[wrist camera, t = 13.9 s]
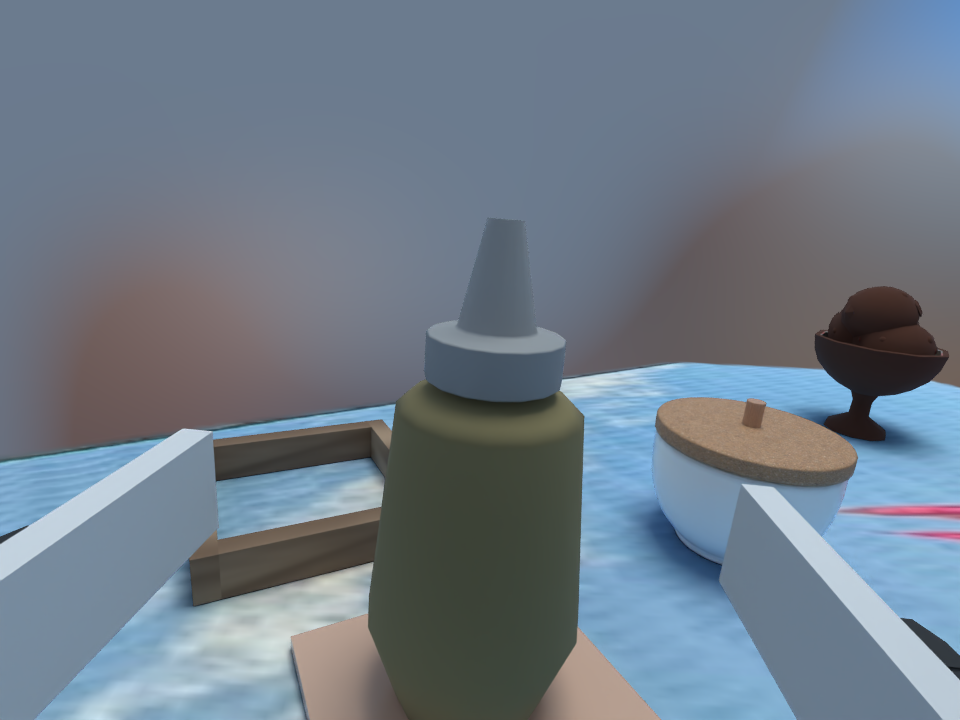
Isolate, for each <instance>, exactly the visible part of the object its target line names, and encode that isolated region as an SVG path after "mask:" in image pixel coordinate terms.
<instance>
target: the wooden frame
mask: <svg viewBox="0 0 960 720" xmlns="http://www.w3.org/2000/svg"><path fill="white" fill-rule="evenodd" d="M391 435H392V431H391V430H390V428H389V427H388V426H387V425H386V424H385V423H384V421H383V420H374V421H365V422H357V423H349V424H340V425H332V426H324V427H315V428H307V429H299V430H291V431H282V432H274V433H266V434H257V435H249V436H241V437H232V438H224V439H216V440H213V447H214V462H215V478H216V481H217V480H224V479H230V478H237V477H243V476H250V475H256V474H263V473H269V472H276V471H282V470H289V469H295V468H302V467H308V466H315V465H321V464H328V463H334V462H341V461H347V460H354V459H360V458H367V457H371V458H372V459H373V461H374V462H375V463H376V465H377V466H378V468H379V469H380V471H381V472H382V474H383V475H384V477H385V478H386V471H387V464H388V457H389V449H390V442H391ZM380 514H381V507H379V508H374V509H369V510H364V511H359V512H354V513H349V514H344V515H339V516H334V517H329V518H324V519H319V520H314V521H309V522H304V523H299V524H294V525H290V526H285V527H280V528H275V529H270V530H265V531H260V532H255V533H250V534H245V535H240V536H235V537H230V538H225V539H220V540H217V530H216V531H215V532H214V533H213V534H212V535H211V536H210V537H209V538H208V539H207V540H206V541H205V542H204V543H203V544H202V545H201V546H200V547H199V548H198V549H197V550H196V551H195V553H194V554H193V555H192V556H191V557H190V558H189V562H190V573H191V585H192V596H193V606H196V605H200V604H204V603H208V602H212V601H216V600H220V599H224V598H228V597H232V596H236V595H240V594H244V593H248V592H252V591H256V590H260V589H264V588H268V587H272V586H276V585H280V584H284V583H288V582H292V581H296V580H300V579H304V578H308V577H312V576H316V575H320V574H324V573H328V572H332V571H336V570H340V569H344V568H348V567H352V566H356V565H360V564H364V563H368V562H372V561H374V557H375V550H376V543H377V536H378V528H379V521H380Z"/></svg>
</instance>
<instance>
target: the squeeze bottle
mask: <svg viewBox="0 0 960 720" xmlns="http://www.w3.org/2000/svg"><path fill="white" fill-rule="evenodd" d="M565 350H566V341H565V339H564V338H562V337H561V336H560V335H558V334H557V333H555V332H552V331H549V330H546V329H543V328H539V327H537V326H536V318H535V308H534V299H533V289H532V280H531V272H530V262H529V254H528V245H527V236H526V226H525V221H521V220H508V219H495V218H487V222H486V225H485V229H484V232H483V236H482V239H481V243H480V246H479V250H478V253H477V257H476V260H475V264H474V268H473V271H472V275H471V278H470V281H469V285H468V289H467V292H466V295H465V299H464V302H463V306H462V309H461V313H460V317H459V320H458V321H448V322H443V323H438V324H435V325H434V326H432V327H431V328H429V329H428V330H427V331H426V346H425V368H424V372H425V377H426V380H423V381H420V382H419V383H418V384H417V385H415V386H414V387H412V388H411V389H410V390H409V391H407V392H406V393H405V394H404V395H403V396H402V397H401V398H399V399H398V400H397V401H396V406H395V413H394V421H393V428H392V435H391V442H390V449H389V457H388V464H387V471H386V478H385V485H384V492H383V500H382V507H381V514H380V521H379V528H378V536H377V543H376V550H375V557H374V564H373V571H372V579H371V586H370V593H369V611H368V629H369V631H370V633H371V636H372V638H373V641H374V643H375V646H376V648H377V651H378V653H379V656H380V658H381V660H382V663H383V665H384V668H385V670H386V673H387V675H388V678H389V680H390V682H391V685H392V687H393V690H394V692H395V695H396V697H397V698H398V700H399V702H400V704H401V706H402V708H403V710H404V712H405V714H406V716H407V718H408V719H409V720H528V718H529V717H530V715H531V714H532V712H533V711H534V710H535V708H536V707H537V705H538V704H539V702H540V700H541V699H542V697H543V696H544V694H545V692H546V691H547V689H548V688H549V686H550V685H551V683H552V681H553V680H554V678H555V677H556V675H557V673H558V672H559V670H560V669H561V667H562V666H563V664H564V662H565V661H566V659H567V658H568V656H569V654H570V653H571V651H572V650H573V648H574V647H575V645H576V643H577V626H578V604H579V571H580V539H581V507H582V474H583V442H584V415H583V414H582V413H581V412H580V411H579V410H578V409H577V408H576V407H575V406H574V404H573V403H572V402H571V401H570V400H569V399H568V398H567V397H566V396H565V395H564V394H563V393H562V392H561V391H559V390H560V387H561V382H562V374H563V366H564V358H565Z"/></svg>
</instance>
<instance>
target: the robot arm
mask: <svg viewBox="0 0 960 720" xmlns="http://www.w3.org/2000/svg"><path fill="white" fill-rule="evenodd" d="M218 528H219V524H218V509H217V493H216V478H215V462H214V447H213V432H212V431H202V430H192V429H182V430H180V431H178V432H177V433H175V434H174V435H172V436H171V437H169V438H167V439H166V440H164V441H163V442H161V443H159V444H158V445H156V446H155V447H153V448H152V449H150V450H148V451H147V452H145V453H144V454H142V455H141V456H139V457H137V458H136V459H134V460H133V461H131V462H129V463H128V464H126V465H125V466H123V467H122V468H120V469H118V470H117V471H115V472H114V473H112V474H110V475H109V476H107V477H106V478H104V479H103V480H101V481H99V482H98V483H96V484H95V485H93V486H92V487H90V488H88V489H87V490H85V491H84V492H82V493H80V494H79V495H77V496H76V497H74V498H73V499H71V500H69V501H68V502H66V503H65V504H63V505H62V506H60V507H58V508H57V509H55V510H54V511H52V512H50V513H49V514H47V515H46V516H44V517H43V518H41V519H39V520H38V521H36V522H35V523H33V524H31V525H30V526H25V527H23V528H20V529H18V530H15V531H13V532H10V533H8V534H6V535H3V536H1V537H0V720H34V719H35V718H36V717H37V716H38V715H39V714H40V713H41V712H42V711H43V710H44V709H45V708H46V707H47V706H48V705H49V704H50V703H51V702H52V701H53V700H54V698H55V697H56V696H57V695H58V694H59V693H60V692H61V691H62V690H63V689H64V688H65V687H66V686H67V685H68V684H69V683H70V682H71V681H72V680H73V679H74V678H75V677H76V676H77V675H78V673H79V672H80V671H81V670H82V669H83V668H84V667H85V666H86V665H87V664H88V663H89V662H90V661H91V660H92V659H93V658H94V657H95V656H96V655H97V654H98V653H99V652H100V651H101V649H102V648H103V647H104V646H105V645H106V644H107V643H108V642H109V641H110V640H111V639H112V638H113V637H114V636H115V635H116V634H117V633H118V632H119V631H120V630H121V629H122V628H123V627H124V626H125V624H126V623H127V622H128V621H129V620H130V619H131V618H132V617H133V616H134V615H135V614H136V613H137V612H138V611H139V610H140V609H141V608H142V607H143V606H144V605H145V604H146V603H147V602H148V600H149V599H150V598H151V597H152V596H153V595H154V594H155V593H156V592H157V591H158V590H159V589H160V588H161V587H162V586H163V585H164V584H165V583H166V582H167V581H168V580H169V579H170V578H171V577H172V575H173V574H174V573H175V572H176V571H177V570H178V569H179V568H180V567H181V566H182V565H183V564H184V563H185V562H186V561H187V560H188V559H189V558H190V557H191V556H192V555H193V554H194V553H195V551H196V550H197V549H198V548H199V547H200V546H201V545H202V544H203V543H204V542H205V541H206V540H207V539H208V538H209V537H210V536H211V535H212V534H213V533H214V532H215V531H216V530H217V529H218ZM719 582H720V584H721V586H722V587H723V589H724V591H725V593H726V595H727V596H728V598H729V600H730V602H731V603H732V605H733V607H734V609H735V610H736V612H737V614H738V616H739V618H740V619H741V621H742V623H743V625H744V626H745V628H746V630H747V632H748V634H749V635H750V637H751V639H752V641H753V642H754V644H755V646H756V648H757V650H758V651H759V653H760V655H761V657H762V658H763V660H764V662H765V664H766V665H767V667H768V669H769V671H770V673H771V674H772V676H773V678H774V680H775V681H776V683H777V685H778V687H779V689H780V690H781V692H782V694H783V696H784V697H785V699H786V701H787V703H788V704H789V706H790V708H791V710H792V712H793V713H794V715H795V717H796V719H797V720H960V656H959V655H958V654H957V653H956V652H955V651H954V650H953V649H952V648H951V647H950V646H949V645H948V644H947V643H946V642H945V641H943V640H942V639H940V638H939V637H937V636H936V635H934V634H933V633H931V632H930V631H929V630H927V629H926V628H924V627H923V626H921V625H920V624H918V623H917V622H915V621H914V620H912V619H905V618H899V617H898V615H897V614H896V613H895V612H894V611H893V610H892V609H891V608H890V607H889V606H888V605H887V604H886V603H885V602H884V601H883V600H882V599H881V598H880V597H879V596H878V595H877V594H876V593H875V592H874V591H873V590H872V589H871V588H870V586H869V585H868V584H867V583H866V582H865V581H864V580H863V579H862V578H861V577H860V576H859V575H858V574H857V573H856V572H855V571H854V570H853V569H852V568H851V567H850V566H849V565H848V564H847V563H846V562H845V561H844V560H843V559H842V557H841V556H840V555H839V554H838V553H837V552H836V551H835V550H834V549H833V548H832V547H831V546H830V545H829V544H828V543H827V542H826V541H825V540H824V539H823V538H822V537H821V536H820V535H819V534H818V533H817V532H816V531H815V529H814V528H813V527H812V526H811V525H810V524H809V523H808V522H807V521H806V520H805V519H804V518H803V517H802V516H801V515H800V514H799V513H798V512H797V511H796V510H795V509H794V508H793V507H792V506H791V505H790V504H789V503H788V502H787V500H786V499H785V498H784V497H783V496H782V495H781V494H780V493H779V492H778V491H777V490H776V489H775V488H774V487H768V486H758V485H748V484H741V487H740V491H739V496H738V500H737V504H736V508H735V513H734V517H733V521H732V526H731V530H730V534H729V538H728V543H727V547H726V551H725V556H724V560H723V564H722V568H721V573H720V577H719Z"/></svg>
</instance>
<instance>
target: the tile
mask: <svg viewBox="0 0 960 720" xmlns="http://www.w3.org/2000/svg"><path fill="white" fill-rule="evenodd" d="M291 650H292V654H293V659H294V663H295V668H296V672H297V677H298V681H299V685H300V690H301V694H302V699H303V703H304V708H305V712H306V717H307V720H409V719H408V718H407V716H406V714H405V712H404V710H403V708H402V706H401V704H400V702H399V700H398V698H397V697H396V695H395V692H394V690H393V687H392V685H391V682H390V680H389V678H388V675H387V673H386V670H385V668H384V665H383V663H382V660H381V658H380V656H379V653H378V651H377V648H376V646H375V643H374V641H373V638H372V636H371V633H370V631H369V629H368V614H365V615H362V616H358V617H355V618H352V619H348V620H345V621H341V622H338V623H335V624H331V625H328V626H325V627H321V628H318V629H315V630H311V631H308V632H304V633H301V634H298V635H294V636H291ZM528 720H661V719H660V718H659V717H658V716H657V715H656V713H655V712H654V711H653V710H652V709H651V708H650V707H649V706H648V704H647V703H646V702H645V701H644V700H643V699H642V698H641V697H640V696H639V694H638V693H637V692H636V691H635V690H634V689H633V688H632V687H631V686H630V684H629V683H628V682H627V681H626V680H625V679H624V678H623V677H622V675H621V674H620V673H619V672H618V671H617V670H616V669H615V668H614V667H613V665H612V664H611V663H610V662H609V661H608V660H607V659H606V658H605V657H604V655H603V654H602V653H601V652H600V651H599V650H598V649H597V648H596V646H595V645H594V644H593V643H592V642H591V641H590V640H589V639H588V638H587V636H586V635H585V634H584V633H583V632H582V631H581V630H580V629H579V628H578V626H577V643H576V645H575V647H574V648H573V650H572V651H571V653H570V654H569V656H568V658H567V659H566V661H565V662H564V664H563V666H562V667H561V669H560V670H559V672H558V673H557V675H556V677H555V678H554V680H553V681H552V683H551V685H550V686H549V688H548V689H547V691H546V692H545V694H544V696H543V697H542V699H541V700H540V702H539V704H538V705H537V707H536V708H535V710H534V711H533V712H532V714H531V715H530V717H529V718H528Z"/></svg>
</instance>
